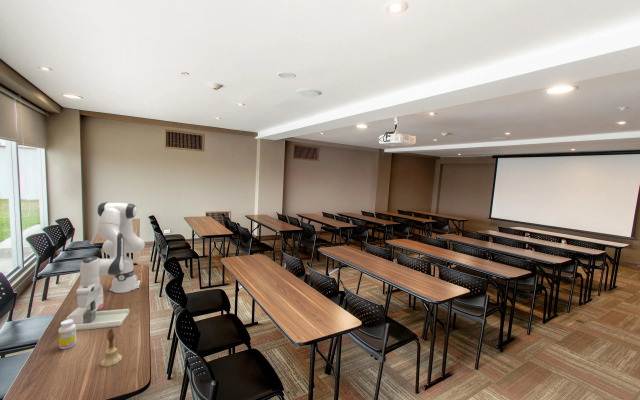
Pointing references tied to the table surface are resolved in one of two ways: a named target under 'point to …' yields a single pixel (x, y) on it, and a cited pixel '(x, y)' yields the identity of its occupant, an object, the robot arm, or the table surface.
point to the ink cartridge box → (99, 301)
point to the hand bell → (111, 352)
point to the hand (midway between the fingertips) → (90, 307)
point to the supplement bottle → (67, 334)
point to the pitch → (98, 318)
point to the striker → (91, 313)
